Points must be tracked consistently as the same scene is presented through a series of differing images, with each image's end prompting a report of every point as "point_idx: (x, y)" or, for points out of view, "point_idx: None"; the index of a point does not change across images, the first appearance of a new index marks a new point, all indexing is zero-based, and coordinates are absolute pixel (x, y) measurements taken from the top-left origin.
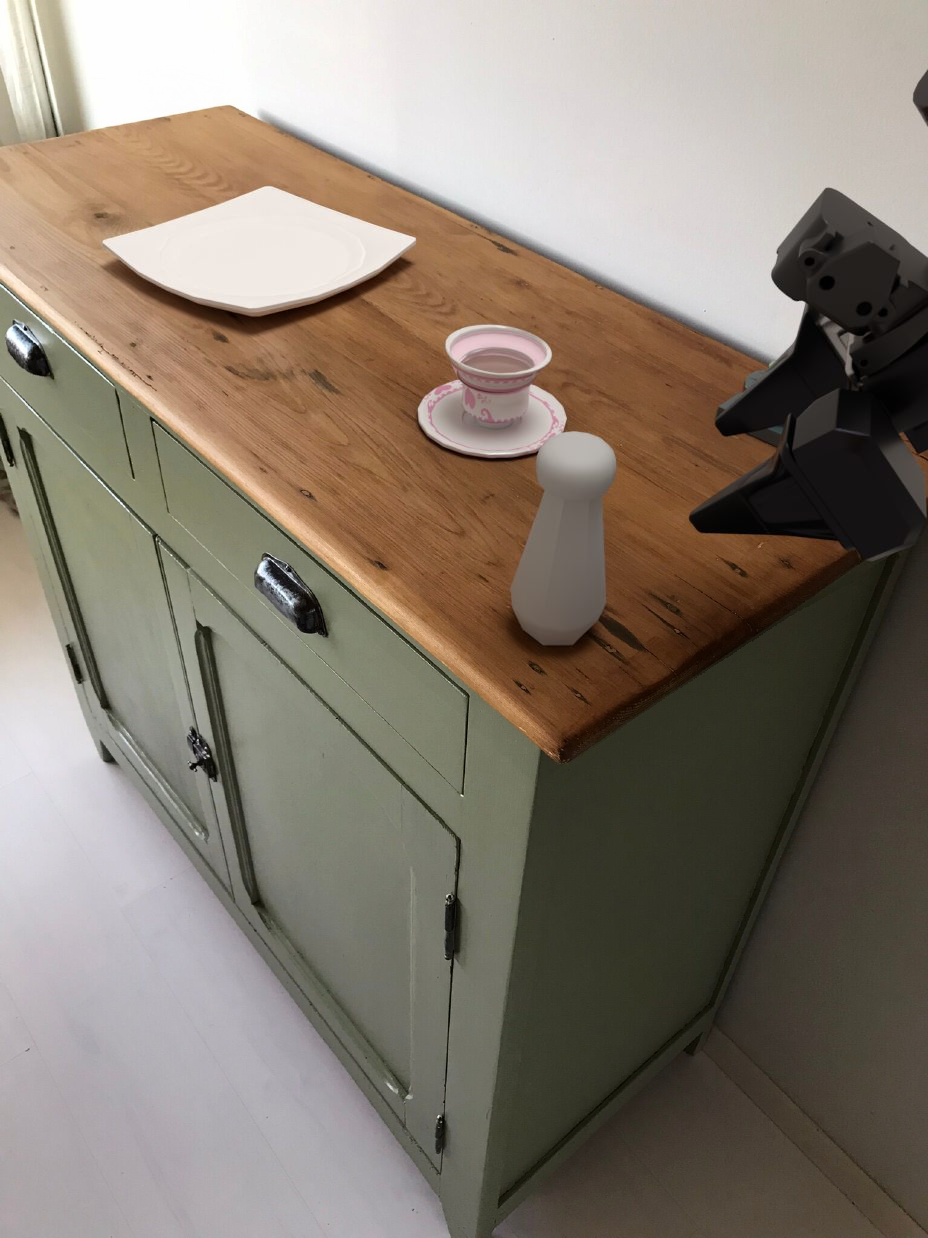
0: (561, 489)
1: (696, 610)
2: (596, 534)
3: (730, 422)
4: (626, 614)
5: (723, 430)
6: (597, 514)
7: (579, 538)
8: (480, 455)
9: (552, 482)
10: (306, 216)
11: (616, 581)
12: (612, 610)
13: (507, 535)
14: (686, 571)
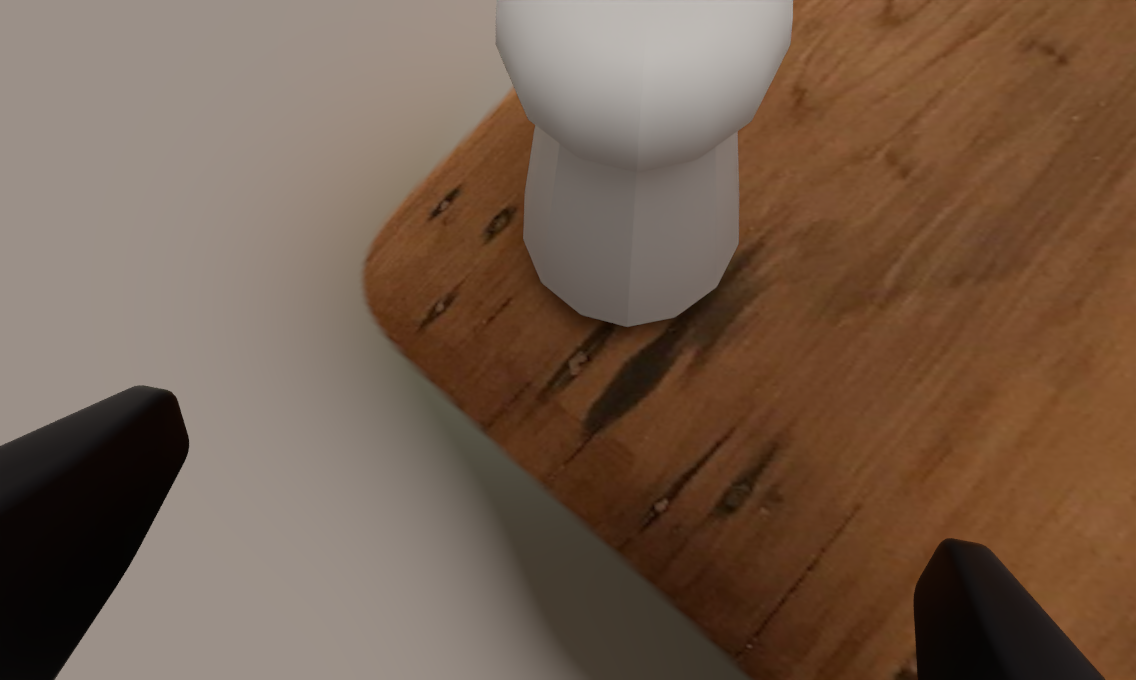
0: None
1: (740, 553)
2: (590, 210)
3: (945, 619)
4: (693, 393)
5: (923, 585)
6: (606, 183)
7: (549, 161)
8: None
9: None
10: None
11: (802, 368)
12: (700, 363)
13: (910, 115)
14: (880, 534)
